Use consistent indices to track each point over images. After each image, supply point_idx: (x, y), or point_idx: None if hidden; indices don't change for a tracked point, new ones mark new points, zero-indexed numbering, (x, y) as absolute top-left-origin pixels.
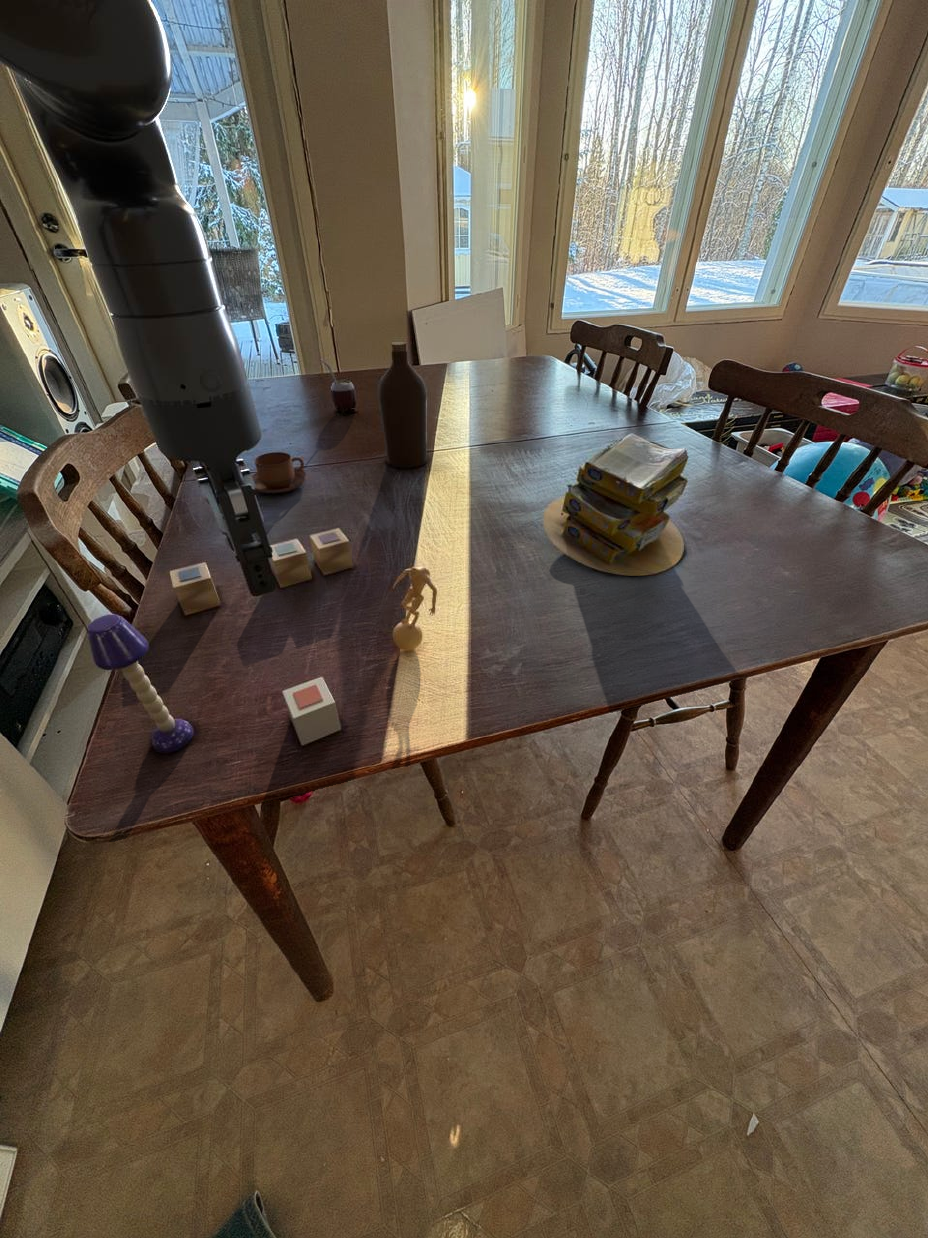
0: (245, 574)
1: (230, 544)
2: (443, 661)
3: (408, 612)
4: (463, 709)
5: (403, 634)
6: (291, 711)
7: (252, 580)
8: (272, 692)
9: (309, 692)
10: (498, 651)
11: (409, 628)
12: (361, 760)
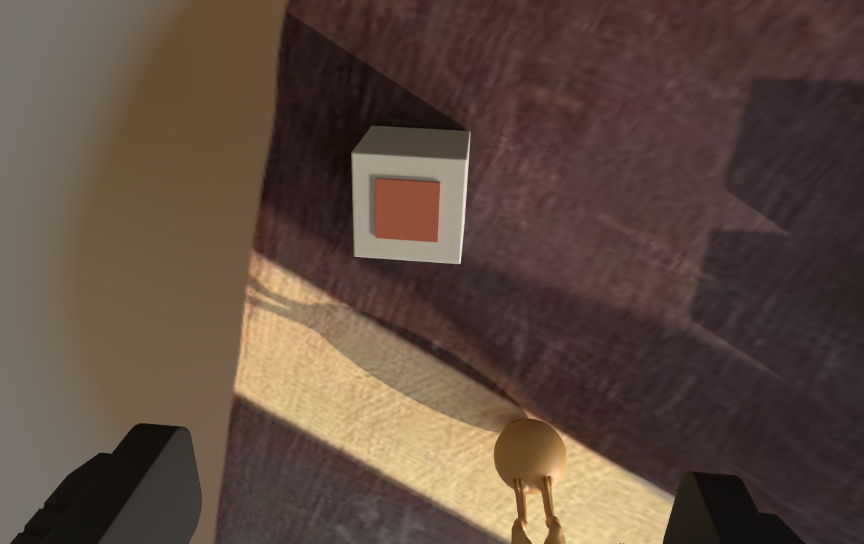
0: (48, 537)
1: (703, 506)
2: (441, 458)
3: (550, 510)
4: (302, 422)
5: (512, 459)
6: (378, 157)
7: (24, 529)
8: (590, 118)
9: (417, 218)
10: (406, 539)
11: (517, 479)
12: (273, 219)
